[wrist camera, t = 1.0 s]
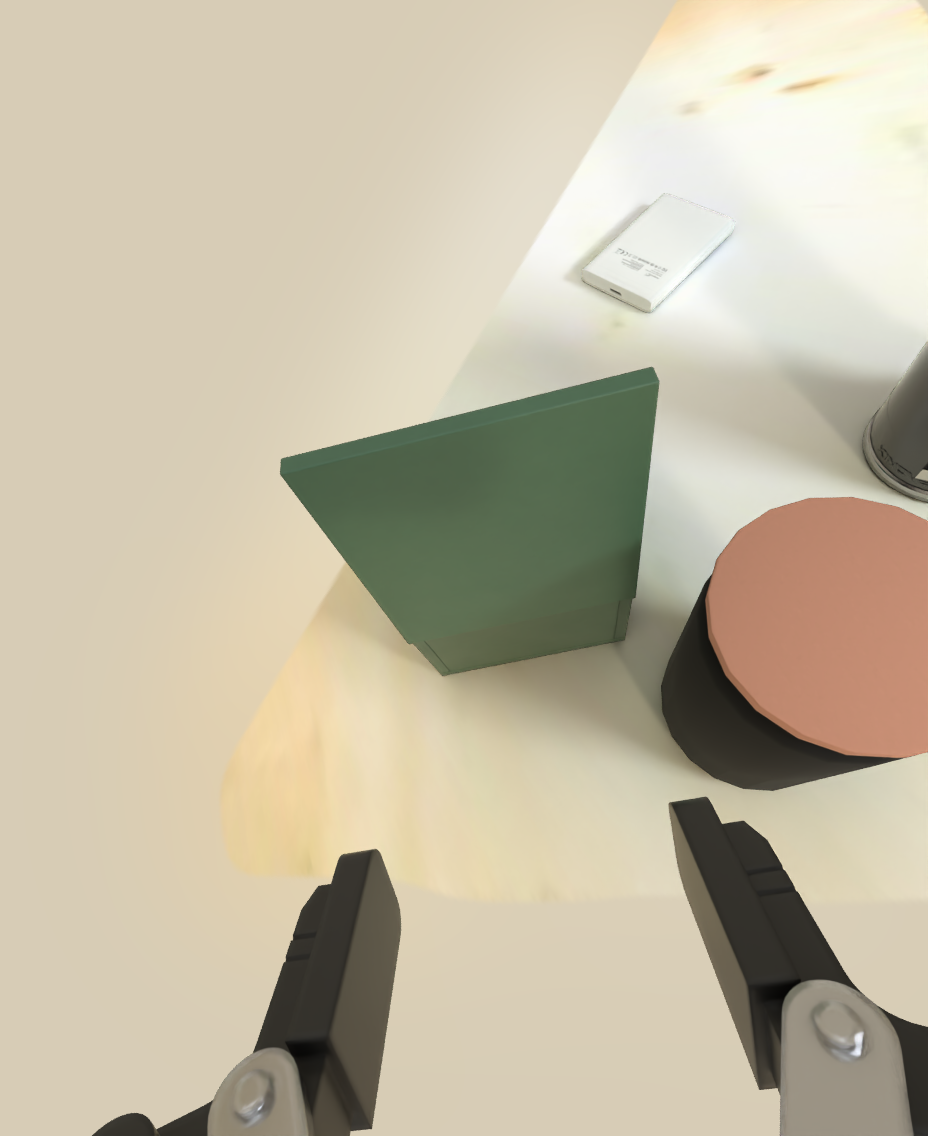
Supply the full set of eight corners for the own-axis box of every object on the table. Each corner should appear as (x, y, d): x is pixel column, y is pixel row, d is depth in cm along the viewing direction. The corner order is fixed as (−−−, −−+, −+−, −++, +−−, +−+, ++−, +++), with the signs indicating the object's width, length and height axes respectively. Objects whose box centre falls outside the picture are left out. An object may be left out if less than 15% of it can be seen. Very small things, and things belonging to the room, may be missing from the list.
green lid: (279, 457, 21) (279, 474, 21) (652, 365, 20) (660, 381, 19) (407, 632, 35) (408, 644, 35) (632, 586, 34) (635, 598, 33)
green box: (419, 501, 50) (387, 439, 42) (575, 464, 49) (573, 393, 41) (442, 676, 43) (409, 641, 35) (624, 640, 42) (633, 595, 34)
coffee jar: (797, 827, 35) (974, 820, 19) (631, 736, 39) (662, 666, 23) (857, 675, 38) (1055, 557, 22) (697, 604, 42) (765, 460, 26)
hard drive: (732, 235, 56) (650, 315, 54) (661, 207, 59) (581, 281, 57) (736, 219, 54) (651, 300, 52) (663, 191, 58) (581, 266, 56)
